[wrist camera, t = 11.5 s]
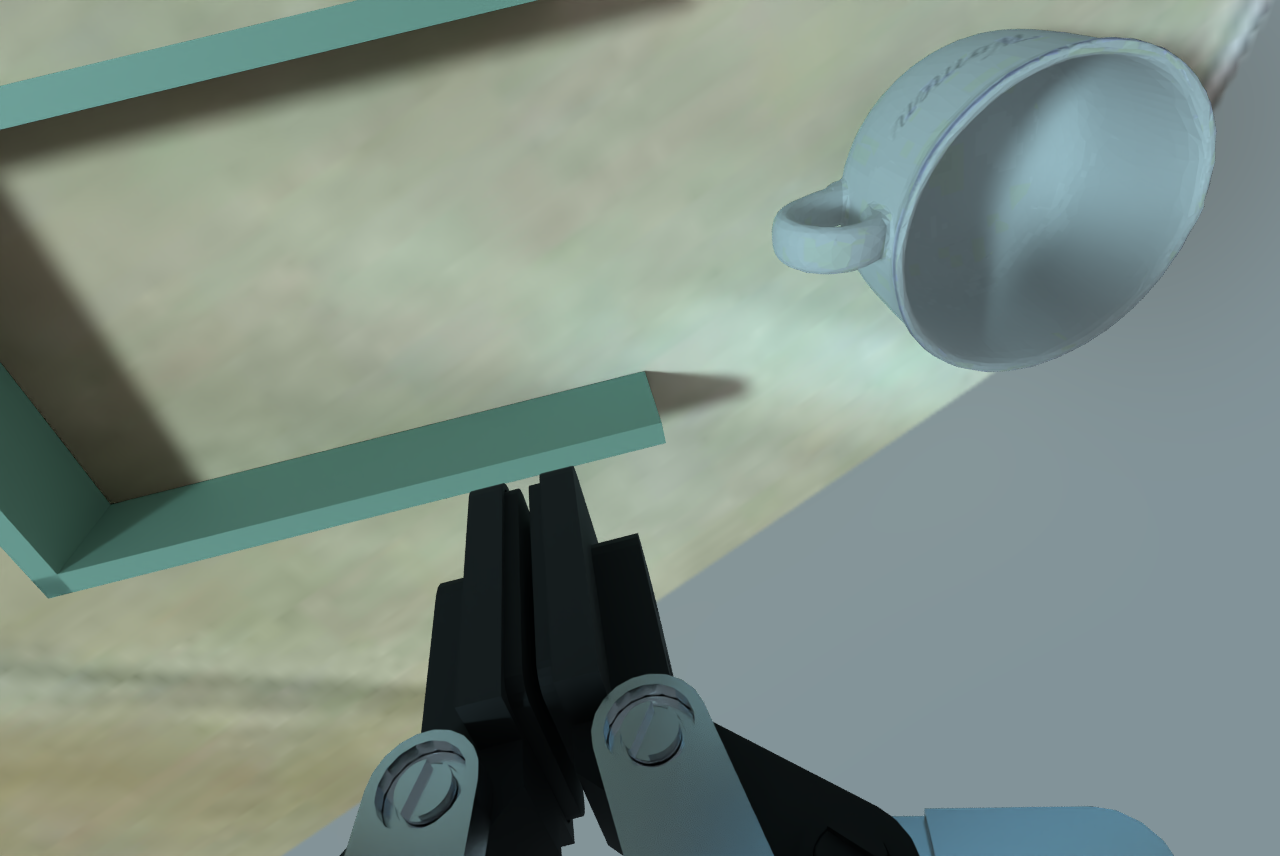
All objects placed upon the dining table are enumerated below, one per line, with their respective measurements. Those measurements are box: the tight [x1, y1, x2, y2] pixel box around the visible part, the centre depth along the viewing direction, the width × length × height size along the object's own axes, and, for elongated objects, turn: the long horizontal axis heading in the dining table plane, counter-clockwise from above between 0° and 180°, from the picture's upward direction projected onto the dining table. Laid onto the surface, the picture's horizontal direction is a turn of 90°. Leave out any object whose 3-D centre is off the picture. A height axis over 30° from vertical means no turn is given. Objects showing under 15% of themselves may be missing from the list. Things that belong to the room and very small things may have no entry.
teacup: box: [772, 29, 1217, 372], centre depth 26 cm, size 14×11×8 cm
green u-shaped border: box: [0, 0, 666, 598], centre depth 27 cm, size 17×26×4 cm, turn 101°
